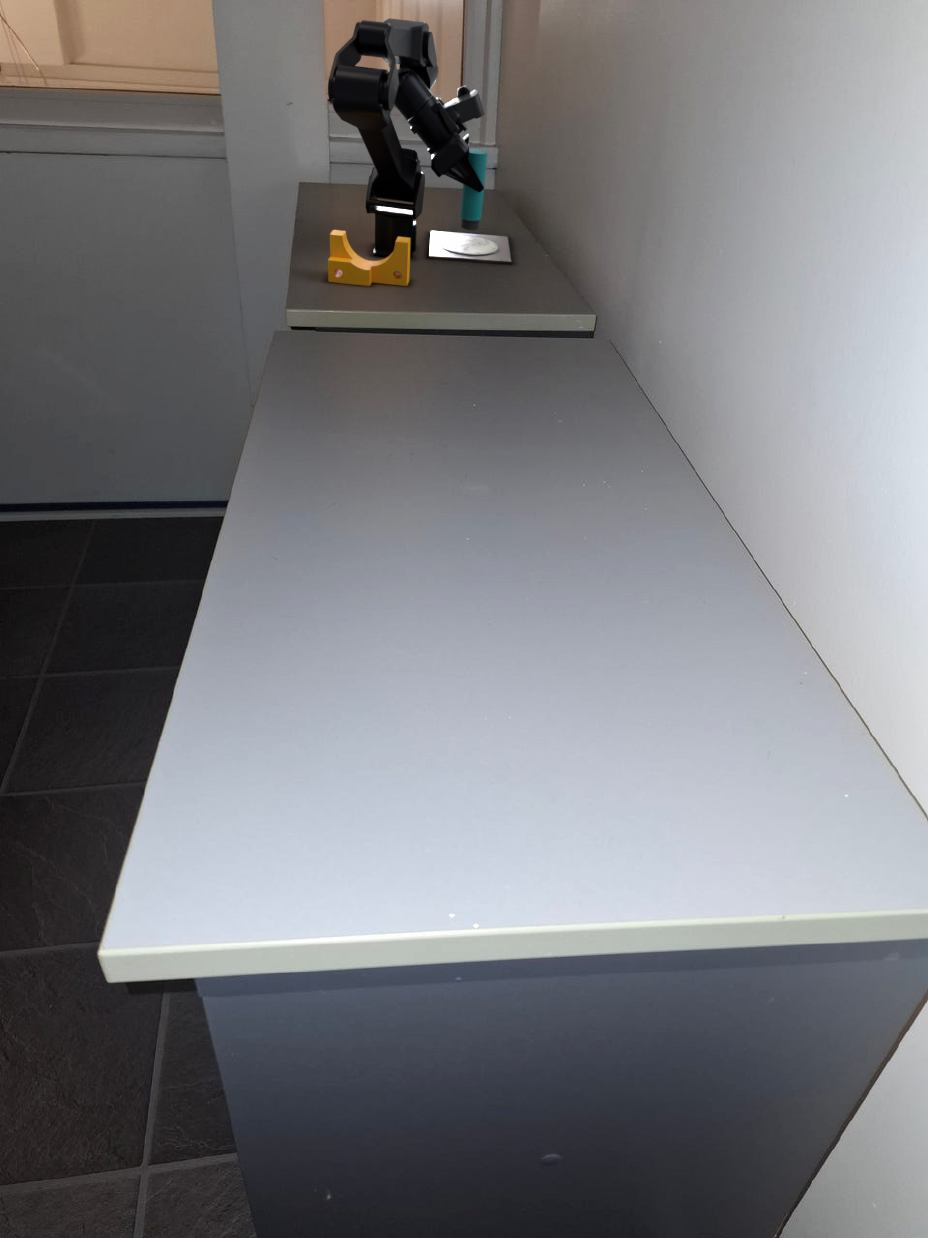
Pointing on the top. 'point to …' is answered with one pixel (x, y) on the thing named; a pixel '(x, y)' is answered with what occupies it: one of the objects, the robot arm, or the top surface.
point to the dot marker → (474, 192)
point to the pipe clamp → (367, 263)
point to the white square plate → (469, 247)
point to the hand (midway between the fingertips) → (481, 187)
